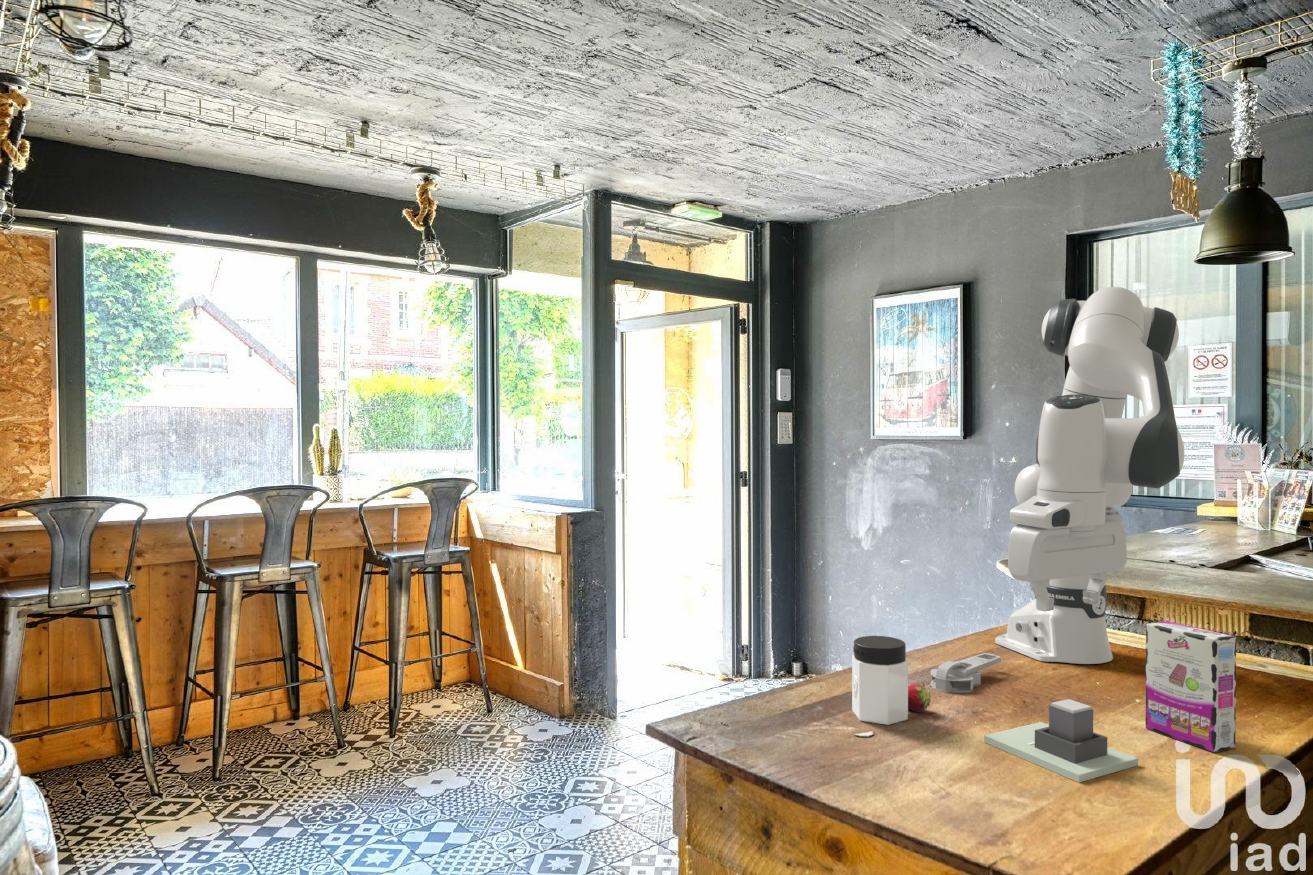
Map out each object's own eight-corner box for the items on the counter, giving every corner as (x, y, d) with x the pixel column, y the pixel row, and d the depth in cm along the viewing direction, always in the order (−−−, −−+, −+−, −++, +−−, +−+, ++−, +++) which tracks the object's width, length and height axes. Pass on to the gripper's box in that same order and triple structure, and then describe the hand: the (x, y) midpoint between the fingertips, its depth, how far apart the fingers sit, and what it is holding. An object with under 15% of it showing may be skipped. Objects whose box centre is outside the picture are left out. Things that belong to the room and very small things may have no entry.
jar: (847, 706, 146) (847, 635, 145) (895, 705, 146) (895, 634, 146) (861, 726, 137) (861, 649, 136) (913, 724, 137) (913, 648, 137)
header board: (984, 741, 130) (984, 718, 130) (1040, 728, 135) (1040, 705, 135) (1078, 782, 115) (1079, 756, 115) (1138, 765, 121) (1138, 740, 121)
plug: (1048, 747, 124) (1049, 702, 124) (1068, 742, 126) (1068, 698, 126) (1073, 757, 121) (1073, 711, 121) (1093, 751, 123) (1093, 706, 122)
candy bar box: (1237, 748, 126) (1239, 635, 126) (1214, 754, 124) (1215, 639, 124) (1165, 723, 137) (1166, 619, 136) (1143, 728, 135) (1144, 622, 134)
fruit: (907, 703, 147) (907, 673, 147) (937, 712, 143) (937, 682, 142) (891, 708, 145) (891, 678, 145) (920, 718, 140) (920, 687, 140)
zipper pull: (1013, 675, 162) (1013, 652, 162) (959, 696, 151) (959, 671, 151) (974, 666, 168) (974, 644, 168) (919, 685, 157) (919, 661, 157)
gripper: (1100, 503, 131) (1098, 594, 132) (1000, 511, 122) (999, 609, 123) (1140, 508, 126) (1137, 603, 126) (1038, 517, 117) (1036, 619, 117)
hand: (1068, 606), depth 125 cm, fingers open, 8 cm apart
